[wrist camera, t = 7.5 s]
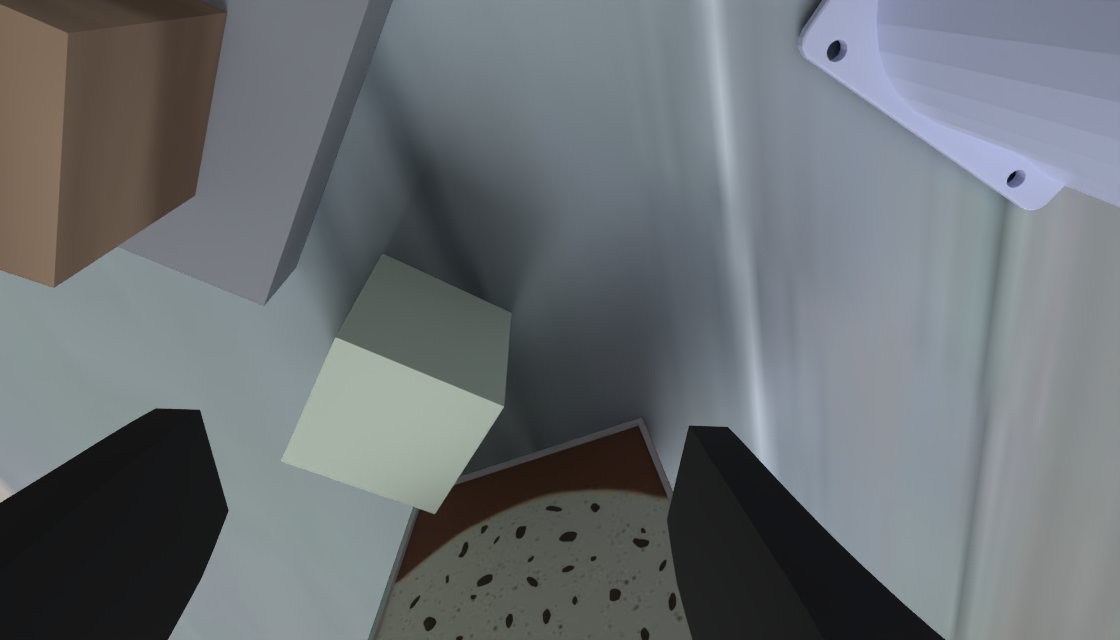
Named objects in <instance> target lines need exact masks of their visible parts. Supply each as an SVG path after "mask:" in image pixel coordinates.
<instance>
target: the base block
mask: <svg viewBox="0 0 1120 640" xmlns="http://www.w3.org/2000/svg"><path fill="white" fill-rule="evenodd" d="M201 1H203V2H205V3H208V4H210V5H212V6H214V7H216V8H218V9H221V10H223V11H225V12H227V16H226V22H225V28H224V33H223V39H222V45H221V51H220V56H219V62H218V68H217V74H216V79H215V85H214V91H213V97H212V102H211V108H210V114H209V120H208V125H207V131H206V137H205V143H204V148H203V154H202V160H201V166H200V171H199V177H198V182H197V188H196V194H195V196H194V197H192V198H191V199H189V200H188V201H186V202H185V203H183V204H182V205H180V206H179V207H177V208H176V209H174V210H172V211H171V212H169V213H168V214H166V215H165V216H163V217H162V218H160V219H159V220H157V221H156V222H154V223H153V224H151V225H149V226H148V227H146V228H145V229H143V230H142V231H140V232H139V233H137V234H136V235H134V236H133V237H131V238H130V239H128V240H126V241H125V242H123V243H122V244H120V245H119V246H117V247H120V248H122V249H124V250H127V251H129V252H132V253H134V254H137V255H139V256H142V257H144V258H147V259H149V260H152V261H154V262H157V263H159V264H162V265H164V266H166V267H169V268H171V269H174V270H176V271H179V272H181V273H184V274H186V275H189V276H191V277H194V278H196V279H199V280H201V281H203V282H206V283H208V284H211V285H213V286H216V287H218V288H221V289H223V290H226V291H228V292H231V293H233V294H236V295H238V296H240V297H243V298H245V299H248V300H250V301H253V302H255V303H258V304H260V305H263V306H264V305H265V304H266V303H267V302H268V301H269V299H270V298H271V297H272V296H273V295H274V293H275V292H276V291H277V290H278V289H279V287H280V286H281V285H282V284H283V283H284V281H285V280H286V279H287V278H288V277H289V275H290V274H291V273H292V272H293V271H294V269H295V268H296V266H297V263H298V261H299V258H300V255H301V252H302V250H303V247H304V244H305V241H306V239H307V236H308V233H309V230H310V228H311V225H312V222H313V219H314V216H315V214H316V211H317V208H318V205H319V203H320V200H321V197H322V194H323V192H324V189H325V186H326V183H327V181H328V178H329V175H330V172H331V170H332V167H333V164H334V161H335V158H336V156H337V153H338V150H339V147H340V145H341V142H342V139H343V136H344V134H345V131H346V128H347V125H348V123H349V120H350V117H351V114H352V112H353V109H354V106H355V103H356V100H357V98H358V95H359V92H360V89H361V87H362V84H363V81H364V78H365V76H366V73H367V70H368V67H369V65H370V62H371V59H372V56H373V53H374V51H375V48H376V45H377V42H378V40H379V37H380V34H381V31H382V29H383V26H384V23H385V20H386V18H387V15H388V12H389V9H390V7H391V4H392V1H393V0H201Z"/></svg>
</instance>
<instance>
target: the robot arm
mask: <svg viewBox="0 0 1120 640" xmlns="http://www.w3.org/2000/svg"><path fill="white" fill-rule="evenodd" d="M836 40H838V41H839V43H840V51H839V54H838V55H837V56H836V57H835V58H834V59H832V60H829V59H828V58H827V49H828V47H829V45H830V44H831V43H832V42H834V41H836ZM798 48H799V52H800V53H801V54H802V56H803V57H804V58H805V59H807V60H808V61H810V62H811V63H813V64H814V65H816V66H817V67H818V68H820V69H821V70H823V71H824V72H826V73H827V74H829V75H830V76H831V77H833V78H834V79H836V80H837V81H839V82H840V83H841V84H843V85H844V86H846V87H847V88H849V89H850V90H852V91H853V92H854V93H856V94H857V95H859V96H860V97H862V98H863V99H864V100H866V101H867V102H869V103H870V104H872V105H873V106H875V107H876V108H877V109H879V110H880V111H882V112H883V113H885V114H886V115H887V116H889V117H890V118H892V119H893V120H895V121H896V122H898V123H899V124H900V125H902V126H903V127H905V128H906V129H908V130H909V131H911V132H912V133H913V134H915V135H916V136H918V137H919V138H921V139H922V140H923V141H925V142H926V143H928V144H929V145H931V146H932V147H934V148H935V149H936V150H938V151H939V152H941V153H942V154H944V155H945V156H946V157H948V158H949V159H951V160H952V161H954V162H955V163H957V164H958V165H959V166H961V167H962V168H964V169H965V170H967V171H968V172H969V173H971V174H972V175H974V176H975V177H977V178H978V179H980V180H981V181H982V182H984V183H985V184H987V185H988V186H990V187H991V188H993V189H994V190H995V191H997V192H998V193H1000V194H1001V195H1003V196H1004V197H1005V198H1007V199H1008V200H1010V201H1011V202H1013V203H1014V204H1016V205H1017V206H1019V207H1021V208H1023V209H1026V210H1036V209H1039V208H1041V207H1043V206H1044V205H1045V204H1047V203H1048V202H1049V201H1050V200H1051V199H1052V198H1053V197H1054V196H1055V195H1056V194H1057V193H1058V192H1059V191H1060V190H1061V189H1062V188H1063V187H1064V186H1067V187H1070V188H1072V189H1075V190H1077V191H1080V192H1083V193H1085V194H1088V195H1090V196H1093V197H1095V198H1098V199H1100V200H1103V201H1105V202H1108V203H1110V204H1113V205H1115V206H1118V207H1120V0H822V1H821V3H820V4H819V5H818V7H817V8H816V10H815V11H814V13H813V14H812V16H811V17H810V19H809V20H808V22H807V23H806V25H805V26H804V27H803V29H802V31H801V33H800V35H799V38H798ZM1014 171H1016V175H1015V177H1014V178H1013V180H1011V181H1010V182H1008V183H1007V179H1008V177H1009V175H1010V174H1011V173H1013V172H1014ZM228 511H229V510H228V507H227V503H226V500H225V496H224V493H223V489H222V486H221V482H220V479H219V475H218V472H217V468H216V465H215V461H214V458H213V454H212V451H211V447H210V444H209V440H208V437H207V433H206V430H205V426H204V423H203V419H202V416H201V412H200V410H188V409H157V408H156V409H154V410H152V411H150V412H149V413H147V414H145V415H143V416H141V417H139V418H138V419H136V420H134V421H133V422H131V423H129V424H127V425H126V426H124V427H122V428H121V429H119V430H117V431H116V432H114V433H113V434H111V435H109V436H108V437H106V438H104V439H103V440H101V441H99V442H98V443H96V444H95V445H93V446H91V447H90V448H88V449H87V450H85V451H83V452H82V453H80V454H79V455H77V456H75V457H74V458H72V459H71V460H69V461H67V462H66V463H64V464H63V465H61V466H59V467H58V468H56V469H54V470H53V471H51V472H50V473H48V474H46V475H45V476H43V477H42V478H40V479H38V480H37V481H35V482H33V483H32V484H30V485H29V486H27V487H25V488H24V489H22V490H20V491H19V492H17V493H16V494H14V495H12V496H11V497H9V498H7V499H6V500H4V501H3V502H1V503H0V640H168V638H169V637H170V635H171V633H172V631H173V629H174V627H175V626H176V624H177V622H178V620H179V618H180V617H181V615H182V613H183V611H184V609H185V608H186V606H187V604H188V602H189V600H190V598H191V597H192V595H193V593H194V591H195V589H196V587H197V585H198V584H199V582H200V580H201V578H202V576H203V573H204V571H205V568H206V566H207V564H208V561H209V559H210V557H211V554H212V552H213V550H214V547H215V545H216V542H217V539H218V537H219V534H220V532H221V529H222V526H223V524H224V521H225V519H226V516H227V513H228ZM667 525H668V531H669V538H670V545H671V552H672V558H673V564H674V570H675V575H676V581H677V586H678V590H679V593H680V597H681V601H682V605H683V608H684V612H685V615H686V619H687V623H688V626H689V630H690V634H691V637H692V640H945V639H944V638H943V637H941V636H940V635H939V634H938V633H937V632H935V631H934V630H933V629H932V628H931V627H930V626H928V625H927V624H926V623H925V622H924V621H923V620H922V619H920V618H919V617H918V616H917V615H916V614H915V613H913V612H912V611H911V610H910V609H909V608H908V607H907V606H906V605H904V604H903V603H902V602H901V601H900V600H899V599H898V598H897V597H896V596H895V595H894V594H892V593H891V592H890V591H889V590H888V589H887V588H886V587H885V586H884V585H883V584H882V583H881V582H879V581H878V580H877V579H876V578H875V577H874V576H873V575H872V574H871V573H870V572H869V571H868V570H866V569H865V568H864V567H863V566H862V565H861V564H860V563H859V562H858V561H857V560H856V559H855V558H854V557H853V556H852V555H851V554H850V553H849V552H848V551H847V550H846V549H845V548H844V547H842V546H841V545H840V544H839V543H838V542H837V541H836V540H835V539H834V538H833V537H832V536H831V535H830V534H829V533H828V532H827V531H826V530H825V529H824V528H823V527H822V526H821V525H820V524H819V523H818V522H817V521H816V520H815V518H814V517H813V516H812V515H811V514H810V513H809V512H808V511H807V510H806V509H805V508H804V507H803V506H802V505H801V504H800V503H799V502H798V501H797V500H796V499H795V498H794V497H793V496H792V495H791V494H790V493H789V492H788V490H787V489H786V488H785V487H784V486H783V485H782V484H781V483H780V482H779V481H778V480H777V479H776V478H775V477H774V476H773V474H772V473H771V472H770V471H769V470H768V469H767V468H766V467H765V466H764V465H763V464H762V463H761V462H760V461H759V459H758V458H757V457H756V456H755V455H754V454H753V453H752V452H751V451H750V450H749V449H748V448H747V447H746V445H745V444H744V443H743V442H742V441H741V440H740V439H739V438H738V437H737V436H736V435H735V434H734V433H733V432H732V431H731V430H730V429H729V428H728V427H712V426H689V428H688V432H687V436H686V441H685V445H684V449H683V453H682V457H681V462H680V466H679V470H678V474H677V479H676V483H675V487H674V491H673V495H672V500H671V504H670V508H669V512H668V516H667Z"/></svg>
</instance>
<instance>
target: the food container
mask: <svg viewBox="0 0 1120 640" xmlns="http://www.w3.org/2000/svg"><path fill="white" fill-rule="evenodd" d="M672 495H673V491H672V488H671V486H670V483H669V481H668V479H667V476H666V474H665V471H664V469H663V466H662V464H661V462H660V459H659V457H658V454H657V452H656V449H655V447H654V445H653V442H652V440H651V437H650V435H649V433H648V430H647V428H646V425H645V423H644V420H643V418H642V417H641V418H638V419H635V420H632V421H629V422H626V423H623V424H619V425H616V426H613V427H610V428H607V429H604V430H601V431H598V432H595V433H592V434H589V435H586V436H583V437H579V438H576V439H573V440H570V441H567V442H564V443H561V444H558V445H555V446H552V447H549V448H546V449H543V450H539V451H536V452H533V453H530V454H527V455H524V456H521V457H518V458H515V459H512V460H509V461H506V462H503V463H499V464H496V465H493V466H490V467H487V468H484V469H481V470H478V471H475V472H472V473H469V474H466V475H463V476H459V478H458V479H457V481H456V482H455V484H454V485H453V487H452V488H451V490H450V492H449V493H448V495H447V496H446V498H445V499H444V501H443V502H442V504H441V506H440V507H439V509H438V510H437V512H436V513H435V514H433V513H430V512H427V511H424V510H421V509H418V508H415V507H413V509H412V512H411V515H410V518H409V521H408V524H407V527H406V530H405V533H404V536H403V539H402V541H401V544H400V547H399V550H398V553H397V556H396V559H395V562H394V565H393V568H392V571H391V574H390V577H389V580H388V582H387V585H386V588H385V591H384V594H383V597H382V600H381V603H380V606H379V609H378V612H377V615H376V618H375V621H374V623H373V626H372V629H371V632H370V635H369V638H368V640H692V637H691V634H690V630H689V626H688V623H687V619H686V615H685V612H684V608H683V605H682V601H681V597H680V593H679V590H678V586H677V581H676V575H675V570H674V564H673V558H672V552H671V545H670V538H669V531H668V525H667V516H668V512H669V508H670V504H671V500H672Z"/></svg>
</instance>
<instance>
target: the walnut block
mask: <svg viewBox="0 0 1120 640" xmlns="http://www.w3.org/2000/svg"><path fill="white" fill-rule="evenodd" d="M226 16H227V12H225V11H223V10H221V9H218V8H216V7H214V6H212V5H210V4H208V3H205V2H203V1H201V0H0V270H2V271H5V272H8V273H11V274H14V275H17V276H20V277H23V278H26V279H29V280H32V281H35V282H38V283H41V284H44V285H47V286H50V287H53V288H54V287H56V286H57V285H59V284H60V283H62V282H64V281H65V280H67V279H68V278H70V277H71V276H73V275H74V274H76V273H77V272H79V271H80V270H82V269H83V268H85V267H87V266H88V265H90V264H91V263H93V262H94V261H96V260H97V259H99V258H100V257H102V256H103V255H105V254H107V253H108V252H110V251H111V250H113V249H114V248H116V247H117V246H119V245H120V244H122V243H123V242H125V241H126V240H128V239H130V238H131V237H133V236H134V235H136V234H137V233H139V232H140V231H142V230H143V229H145V228H146V227H148V226H149V225H151V224H153V223H154V222H156V221H157V220H159V219H160V218H162V217H163V216H165V215H166V214H168V213H169V212H171V211H172V210H174V209H176V208H177V207H179V206H180V205H182V204H183V203H185V202H186V201H188V200H189V199H191V198H192V197H194V196H195V194H196V188H197V182H198V177H199V171H200V166H201V160H202V154H203V148H204V143H205V137H206V131H207V125H208V120H209V114H210V108H211V102H212V97H213V91H214V85H215V79H216V74H217V68H218V62H219V56H220V51H221V45H222V39H223V33H224V28H225V22H226Z"/></svg>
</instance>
